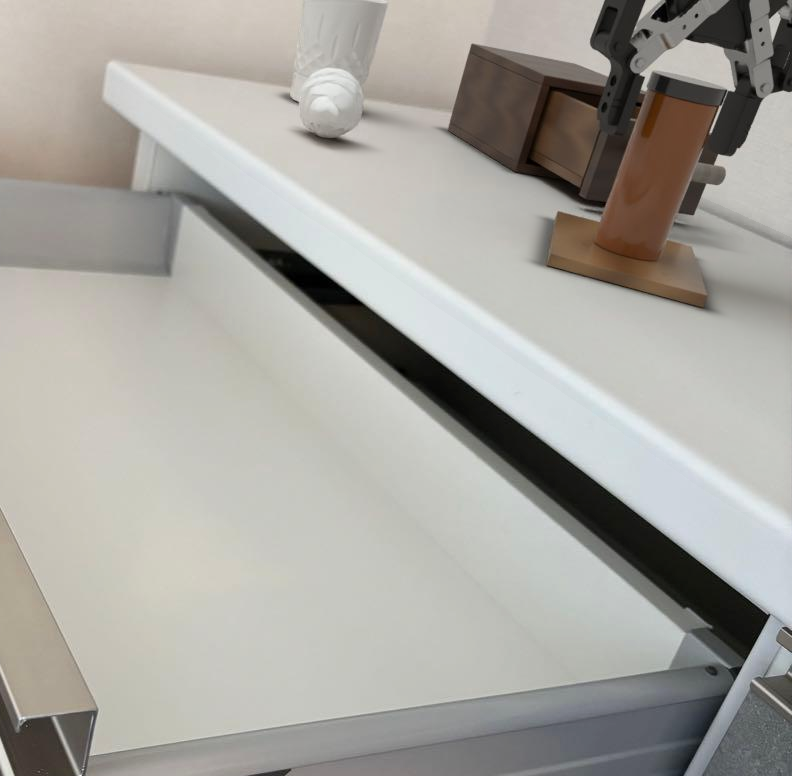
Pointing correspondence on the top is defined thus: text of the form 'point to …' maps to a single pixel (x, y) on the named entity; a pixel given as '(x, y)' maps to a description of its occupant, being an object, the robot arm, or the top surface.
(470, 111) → the cabinet
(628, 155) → the spice jar
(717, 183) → the drawer
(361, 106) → the garlic bulb
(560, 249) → the cork mat
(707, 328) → the top surface
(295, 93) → the white tapered cylinder
